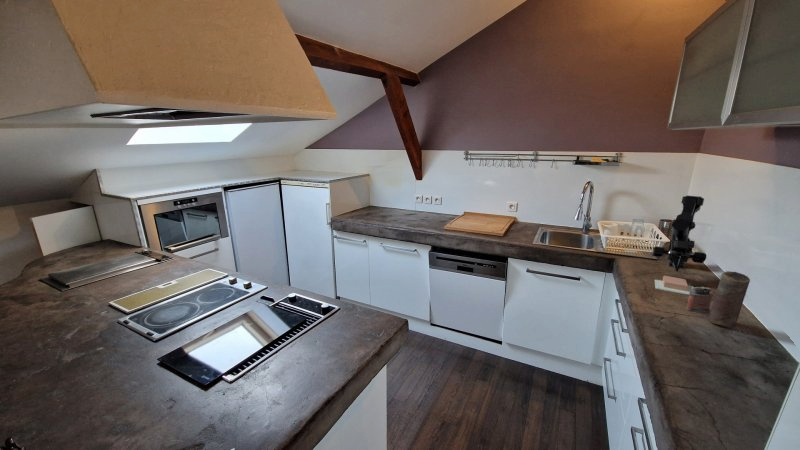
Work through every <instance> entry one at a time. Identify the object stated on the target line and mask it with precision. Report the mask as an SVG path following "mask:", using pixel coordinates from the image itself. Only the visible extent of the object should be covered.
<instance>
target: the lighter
mask: <svg viewBox="0 0 800 450" xmlns="http://www.w3.org/2000/svg"><path fill="white" fill-rule="evenodd" d="M693 287H694V286H693ZM711 291H712V289H711V287H704V286H701V287H700V286H695V287H694V288H693V291H691V292H689V294H690V295H688V300H687V304H686V305H685V310H687V311H689V312H694V313H695V312H696V313H710V311H711V309H710V306H711V303H712V300H713V297H714V293H713V292H711Z"/></svg>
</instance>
